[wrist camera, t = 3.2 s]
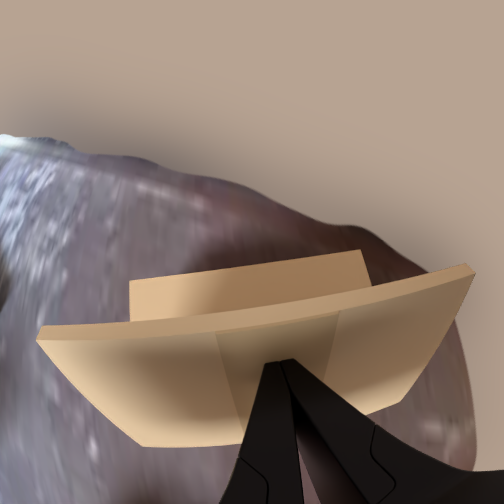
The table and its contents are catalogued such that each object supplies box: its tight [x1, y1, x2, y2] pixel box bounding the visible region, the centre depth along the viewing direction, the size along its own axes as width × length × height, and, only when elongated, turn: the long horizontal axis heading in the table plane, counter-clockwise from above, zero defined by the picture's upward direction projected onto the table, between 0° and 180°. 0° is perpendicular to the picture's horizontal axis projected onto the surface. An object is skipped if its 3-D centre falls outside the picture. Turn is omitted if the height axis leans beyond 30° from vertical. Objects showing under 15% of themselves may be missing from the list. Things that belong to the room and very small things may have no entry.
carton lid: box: [36, 264, 476, 447], centre depth 9 cm, size 9×14×1 cm
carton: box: [130, 250, 372, 322], centre depth 16 cm, size 9×14×6 cm, turn 99°
